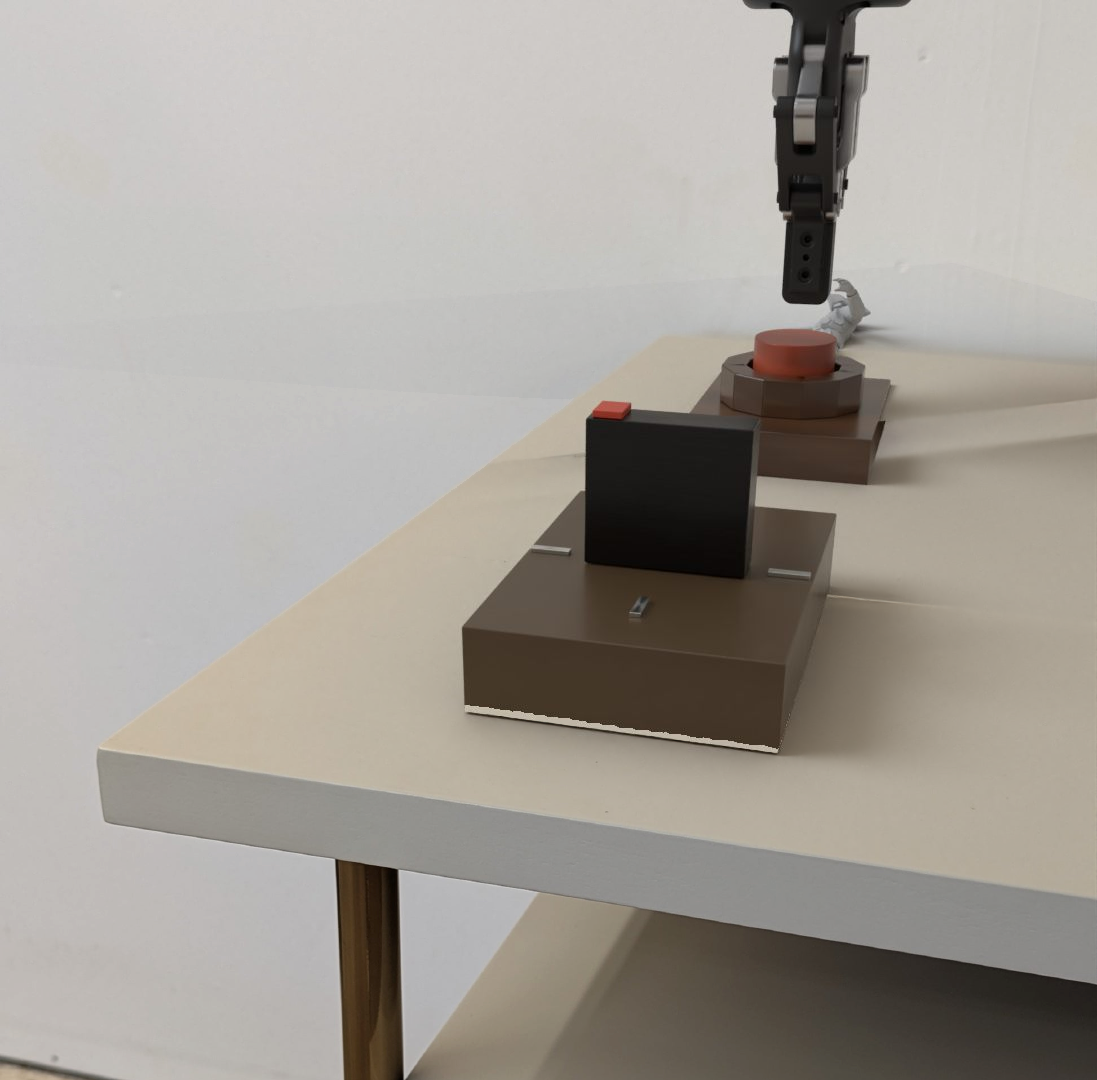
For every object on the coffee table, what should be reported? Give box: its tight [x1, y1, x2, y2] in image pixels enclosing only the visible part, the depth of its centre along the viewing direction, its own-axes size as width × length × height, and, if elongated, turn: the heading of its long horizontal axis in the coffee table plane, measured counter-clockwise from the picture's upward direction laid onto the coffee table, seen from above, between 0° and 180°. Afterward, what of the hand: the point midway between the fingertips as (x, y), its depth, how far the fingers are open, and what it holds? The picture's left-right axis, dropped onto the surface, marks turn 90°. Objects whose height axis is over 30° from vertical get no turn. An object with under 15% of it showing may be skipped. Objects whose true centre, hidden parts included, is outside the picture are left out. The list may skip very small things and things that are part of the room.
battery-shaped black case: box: [584, 400, 761, 578], centre depth 47 cm, size 6×2×5 cm, turn 74°
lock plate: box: [461, 490, 837, 749], centre depth 48 cm, size 14×10×3 cm
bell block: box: [689, 350, 892, 486], centre depth 70 cm, size 12×9×4 cm
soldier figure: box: [812, 277, 871, 353], centre depth 83 cm, size 8×5×12 cm
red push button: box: [753, 328, 837, 376], centre depth 69 cm, size 4×4×2 cm
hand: (805, 301), depth 68 cm, fingers closed
